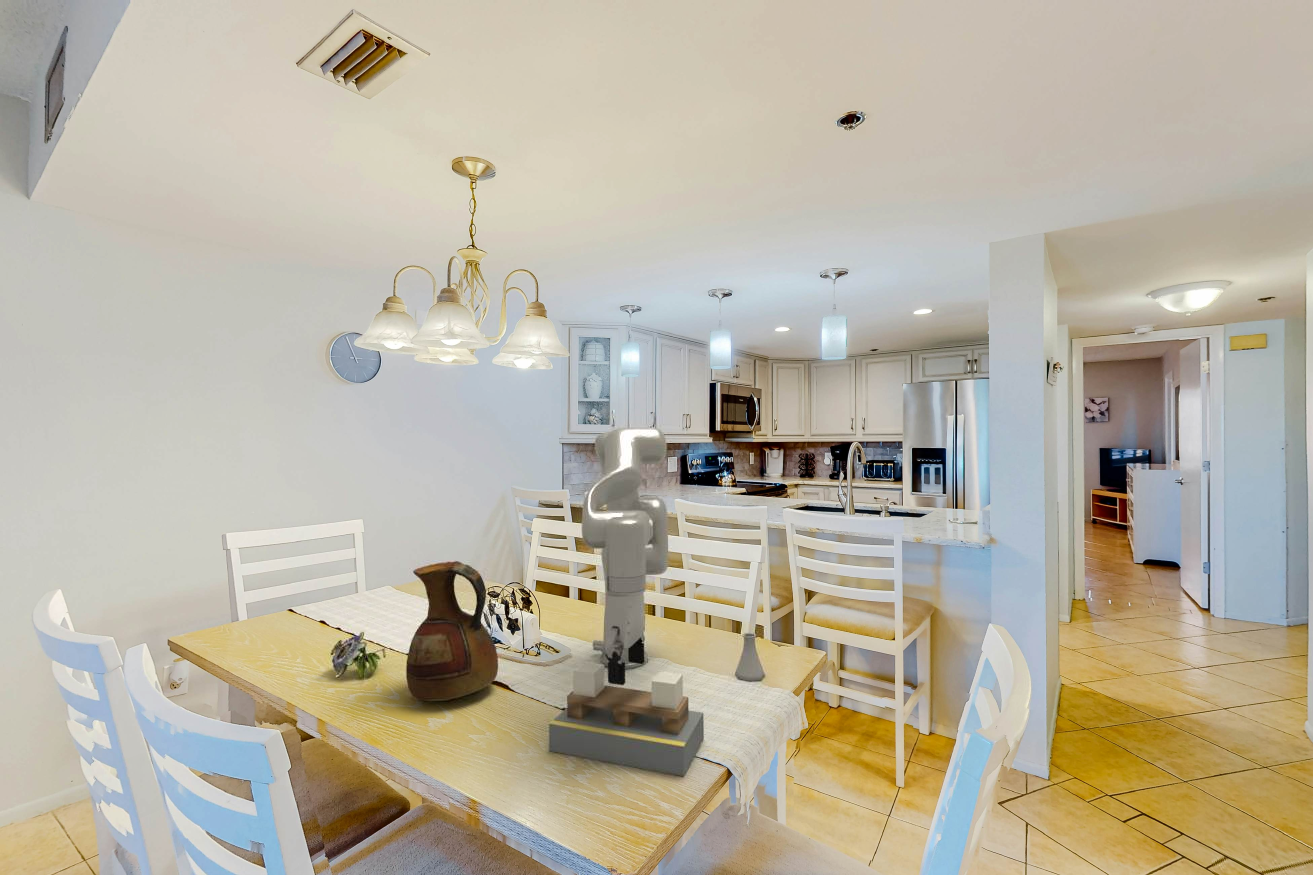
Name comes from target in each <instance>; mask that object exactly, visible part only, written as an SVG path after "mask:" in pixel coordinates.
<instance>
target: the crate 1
mask: <svg viewBox="0 0 1313 875" xmlns="http://www.w3.org/2000/svg"><path fill="white" fill-rule="evenodd" d="M604 685H605V665H603V664H602V663H595V662H587V661H582V663H580V664H579V665H578V666H576V667H575V668H573V670H572V691H573V694H575V695H582V696H588V697H595V696H596V695H598V694H599V693H600V692H601V691H602V690H603V689H604V688H605V687H604Z"/></svg>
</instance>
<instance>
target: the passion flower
mask: <svg viewBox="0 0 1313 875" xmlns="http://www.w3.org/2000/svg"><path fill="white" fill-rule="evenodd" d="M364 636H365V631H360V633H359V634H358V635H354V636H351V637H349V638H348V639H346V640H345V641H343V640H342V639H339V640H338V641H337V643H335V644H334V647H333V648H332V649H331V652H330V656H332V658H331V659H332V660H331V662H332V664H333V665H332V668H334V670H335V672H337V673H336V675H339V677H342V675H344V674H345V672H346V671H347V669H348V667H351V666H352V665H354V666H355V667H356V668H357V672H358V677H359V678H360V679H361V678H365V679H366V675H367V671H368V668H369V670H370V675H373V674H374V672H375V670H377V669H378V666H379V663H378V662H379V661H380V660H381V657H380V655H379V654H377V652H382V653H383V654H382V655H383V658H386V656H387V655H386V648H385V647H384V648H381V649H380V650H377V651H375V652H369V653H367V649H366V647H367V645H368V642H367V641H362V640H363V638H364ZM378 660H379V661H378ZM367 664H368V665H367ZM336 675H335V676H336Z"/></svg>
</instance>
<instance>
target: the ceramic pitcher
mask: <svg viewBox="0 0 1313 875" xmlns="http://www.w3.org/2000/svg"><path fill="white" fill-rule="evenodd" d="M412 572H413V574H414V575H415V576H416V577H417V578H418V579H420V580H421V581H422V583H423V585H424V587H425V592H426V598H427V600H428V602H427V603H428V609H427V616H426V618H425V619H424V620H423V622H422V623H420V624H419V626H418V628H417V629H416V630H415V633H414V635H413V637H412V639H411V642H410V644H409V648H408V649H409V650H408V653H407V658H406V669H405V673H406V675H405V676H406V684H407V688H408V690H409V693H410V694H411V695H410V696H413V698H415V699H417V700H420V701H426V702H427V701H428V702H431V701H432V702H436V701H437V702H438V701H449V700H451V699H457V698H461V697H465V696H468V695H471V694H473V693H475V692H477V691H481V690H483V689H484V688H486V687H487V686H489V685H490V684H493V682H494V681H495V679H496V677H497V675H498V670H499V658H498V652H497V649H496V644H495V642H494V640H493V638H492V636H491V634H490V633H489V631H488V629H487V628H486V626H484V624H483V622H482V615H483V612H484V608H485V604H486V600H487V590H486V585H485V582H484V580H483V577H482V576H481V574H480V572H479V571H478V570H477V569H475V568H473V567H472V566H471V565H469V564H464V563H462V562H461V561H458V560H455V561H446V562H438V563H434V564H429V565H425V566H422V567H418V568H416V569H414V570H413V571H412ZM457 575H458V576H461V577H463V578H465V579H466V580H467V581H468V582H469V583H470V584H471V586H472V588H473V590H474V592H475V597H476V603H475V605H476V606H475V610H474V614H471V613H468V612H466V611H463V609H461V607H460V606H459V603H458V600H457V597H456V592H455V579H456V577H457Z"/></svg>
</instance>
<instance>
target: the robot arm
mask: <svg viewBox="0 0 1313 875" xmlns="http://www.w3.org/2000/svg"><path fill="white" fill-rule="evenodd" d="M594 450H595V454H596V457H597V461H598V463H599V466H600V468H601V470H602V472H603V473H602V474H603V476H602V477H601V478H599V479H598V480H597V481H596V482H595V483H594V484H593V485H592V486H591V487H590V489H589V490H588V492H587V493H586V495H585V497H584V501H583V504H582V515H581V516H582V517H581V518H582V519H581V537H582V540H583V543H584V544H585V545H586V546H587V547H588V548H591V549H595V550H597V549H601V554H600V555H601V565H602V570H603V576H604V577H603V578H604V593H605V595H604V596H605V597H604V598H605V604H604V605H605V606H604V616H603V618H604V619H603V641H601V640H598V639H597V640H596V639H595V640H593V642H592V650H593V651H597V652H599V651H600V652H601V655H600V656H599V661H600V664H603V665H604V667H607V682H608V684H613V685H618V686H624V685H625V684H626V669H634V668H638V667H641V666H643V665H645V664H646V663H647V662H648V661H649V654H648V652H647V651H646V650H645V640H646V639H645V638H646V637H645V634H644V633H645V631H646V610H645V609H646V608H645V596H644V595H645V594H644V593H645V592H646V590H647V581H646V580H647V579H646V578H647V577H646V576H657V575H659V576H660V575H663V574H664V573H665V572H667V570H668V567H669V532H668V530H669V529H668V526H669V525H668V523H669V522H668V511H667V506H666V503H665V501H664V500H663V499H662V498H660V497H658V496H640V495H639V489H640V487H641V486H642V483H643V479H644V478H643V466H642V465H658V464H662V463H663V462H664V461H665V459H666V456H667V451H668V450H667V439H666V437H665V434H664V432H663V431H662V430H661V429H660V428H657V427H622V428H616V429H613V430H611V431H605V432H602V433H600V434H598V435H597V436H596V437H595V440H594ZM604 506H606V510H601V508H602V507H604Z"/></svg>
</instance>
